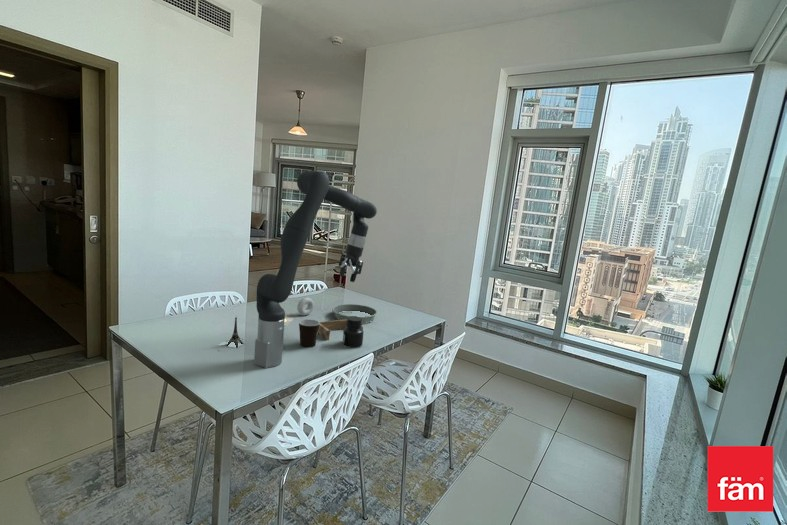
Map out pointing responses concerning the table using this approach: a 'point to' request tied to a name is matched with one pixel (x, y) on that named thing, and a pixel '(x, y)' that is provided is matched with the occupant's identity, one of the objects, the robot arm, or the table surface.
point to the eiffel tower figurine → (235, 336)
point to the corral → (331, 327)
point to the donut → (309, 308)
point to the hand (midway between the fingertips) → (346, 278)
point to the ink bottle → (353, 332)
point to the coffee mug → (308, 332)
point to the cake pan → (354, 308)
